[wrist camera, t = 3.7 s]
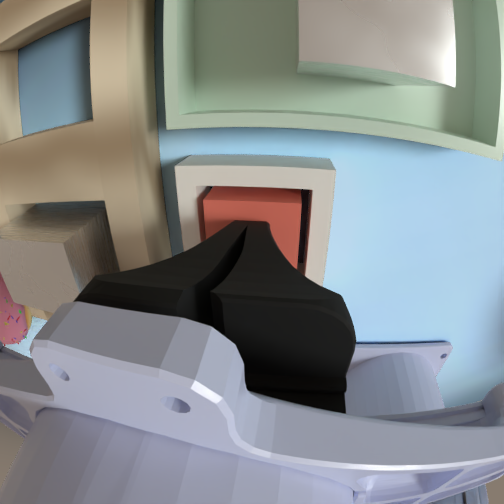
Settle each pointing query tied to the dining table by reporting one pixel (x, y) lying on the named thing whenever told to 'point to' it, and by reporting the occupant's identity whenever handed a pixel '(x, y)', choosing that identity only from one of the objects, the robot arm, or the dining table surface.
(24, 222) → the block
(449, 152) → the dining table surface
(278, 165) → the button housing
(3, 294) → the doughnut
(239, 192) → the button
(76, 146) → the tan open frame
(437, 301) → the dining table surface
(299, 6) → the billet
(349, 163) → the dining table surface
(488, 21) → the tote
